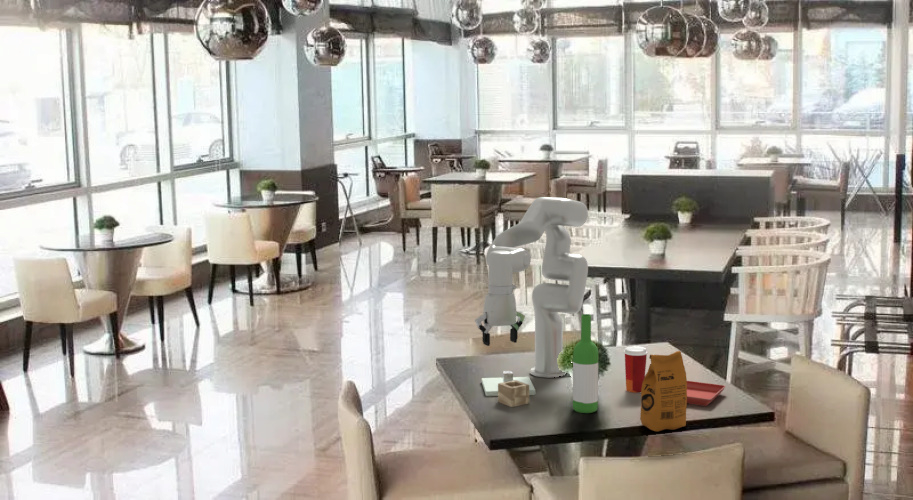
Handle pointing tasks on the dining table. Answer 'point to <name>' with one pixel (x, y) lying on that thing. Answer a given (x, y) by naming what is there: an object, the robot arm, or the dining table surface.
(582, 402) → the wine bottle
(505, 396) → the maple collar
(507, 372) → the post board
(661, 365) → the coffee package
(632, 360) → the paper cup
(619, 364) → the dining table surface
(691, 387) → the plant saucer
